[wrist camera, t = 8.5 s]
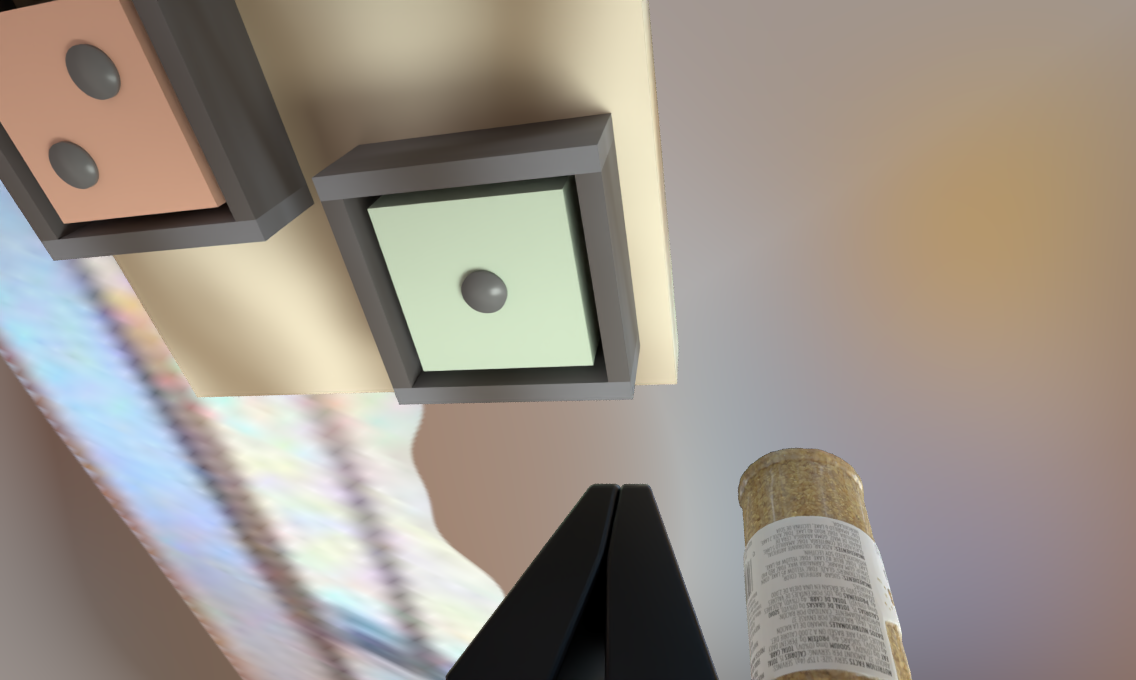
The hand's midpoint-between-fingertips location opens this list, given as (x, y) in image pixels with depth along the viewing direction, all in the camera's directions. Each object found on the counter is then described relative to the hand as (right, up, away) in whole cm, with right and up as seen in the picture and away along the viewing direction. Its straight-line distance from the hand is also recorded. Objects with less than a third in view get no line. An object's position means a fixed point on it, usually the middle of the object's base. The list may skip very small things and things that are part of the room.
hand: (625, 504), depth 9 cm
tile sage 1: (-3, +5, +9) cm, 11 cm away
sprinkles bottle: (+8, -3, +15) cm, 18 cm away
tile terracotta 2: (-12, +9, +8) cm, 17 cm away
